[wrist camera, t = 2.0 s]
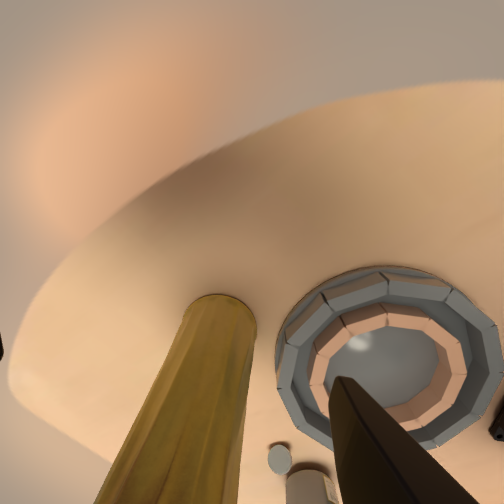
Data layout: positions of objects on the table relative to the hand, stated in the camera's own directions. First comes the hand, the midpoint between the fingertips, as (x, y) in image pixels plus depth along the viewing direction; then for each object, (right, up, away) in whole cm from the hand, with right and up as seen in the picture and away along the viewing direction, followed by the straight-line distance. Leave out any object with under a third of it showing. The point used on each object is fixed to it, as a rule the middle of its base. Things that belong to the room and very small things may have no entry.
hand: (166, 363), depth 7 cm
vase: (0, -3, +15) cm, 15 cm away
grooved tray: (+12, -6, +15) cm, 20 cm away
